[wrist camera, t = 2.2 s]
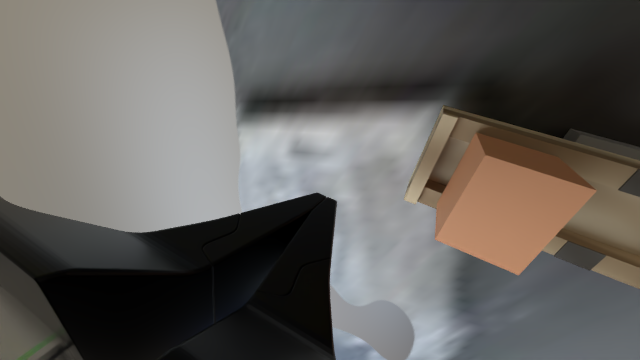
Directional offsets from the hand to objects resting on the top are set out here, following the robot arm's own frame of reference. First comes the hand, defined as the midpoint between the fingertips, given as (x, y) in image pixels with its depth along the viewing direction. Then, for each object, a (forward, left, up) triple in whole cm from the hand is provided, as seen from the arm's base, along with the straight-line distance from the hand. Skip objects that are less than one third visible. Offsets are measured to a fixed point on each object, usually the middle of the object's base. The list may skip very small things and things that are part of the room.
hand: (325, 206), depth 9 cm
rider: (0, -7, -10) cm, 12 cm away
